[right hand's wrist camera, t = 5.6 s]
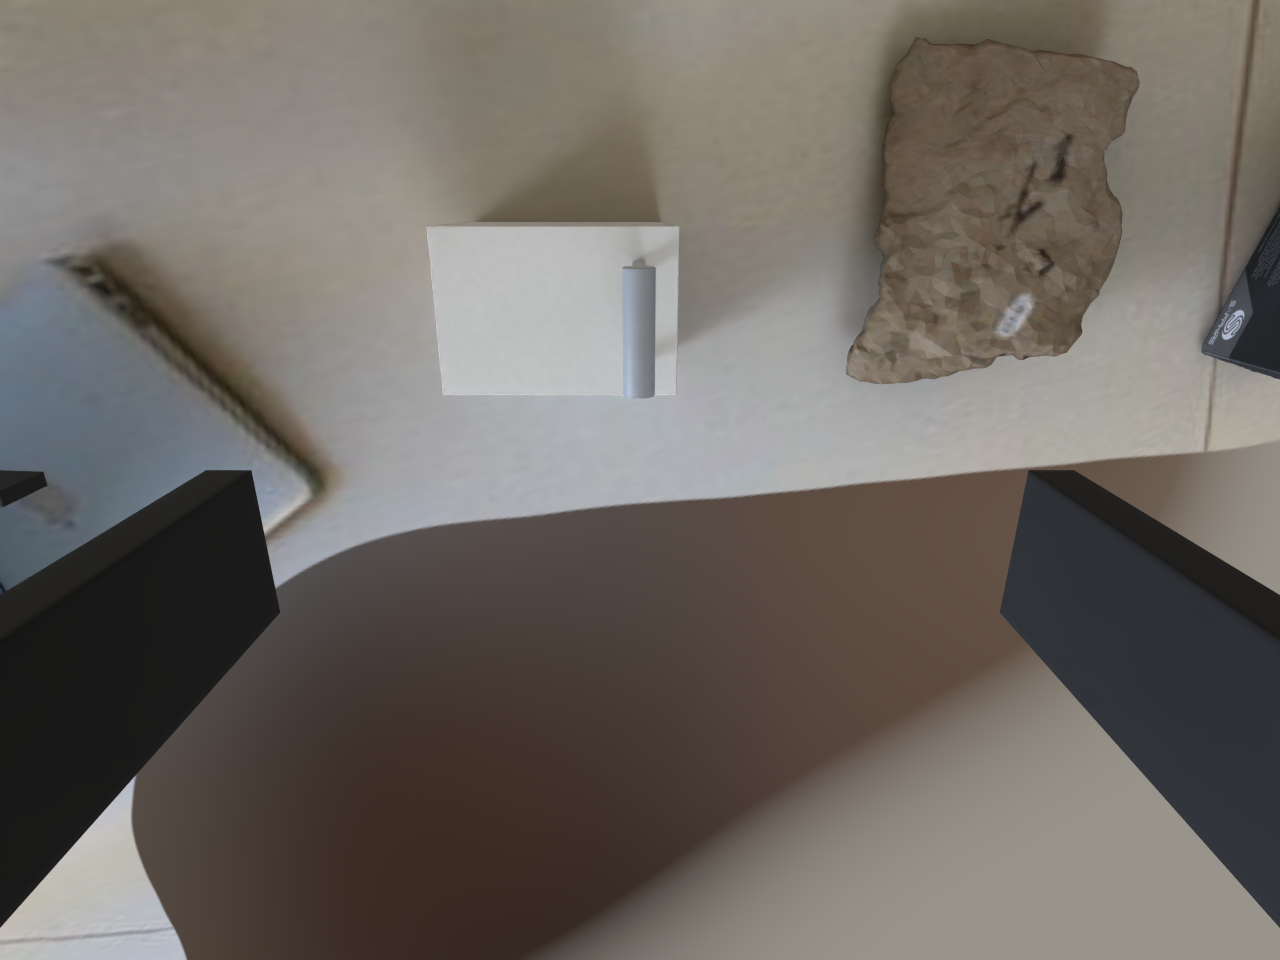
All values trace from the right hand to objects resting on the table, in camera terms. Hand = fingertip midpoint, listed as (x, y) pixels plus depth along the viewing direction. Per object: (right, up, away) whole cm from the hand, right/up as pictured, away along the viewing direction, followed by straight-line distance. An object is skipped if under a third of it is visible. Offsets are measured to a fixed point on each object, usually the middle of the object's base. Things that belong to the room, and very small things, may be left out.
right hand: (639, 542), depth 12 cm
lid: (-5, +10, +28) cm, 30 cm away
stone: (+22, +19, +37) cm, 46 cm away
